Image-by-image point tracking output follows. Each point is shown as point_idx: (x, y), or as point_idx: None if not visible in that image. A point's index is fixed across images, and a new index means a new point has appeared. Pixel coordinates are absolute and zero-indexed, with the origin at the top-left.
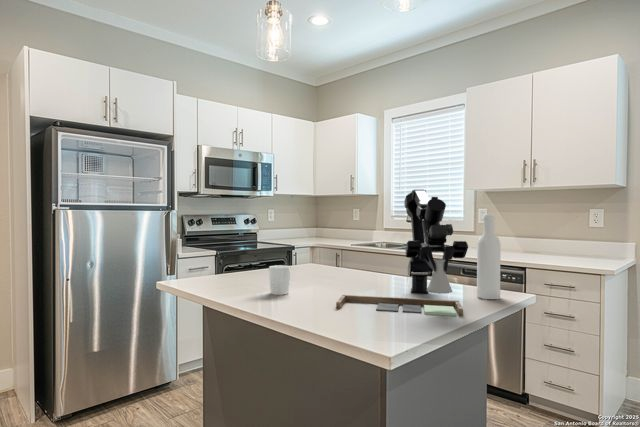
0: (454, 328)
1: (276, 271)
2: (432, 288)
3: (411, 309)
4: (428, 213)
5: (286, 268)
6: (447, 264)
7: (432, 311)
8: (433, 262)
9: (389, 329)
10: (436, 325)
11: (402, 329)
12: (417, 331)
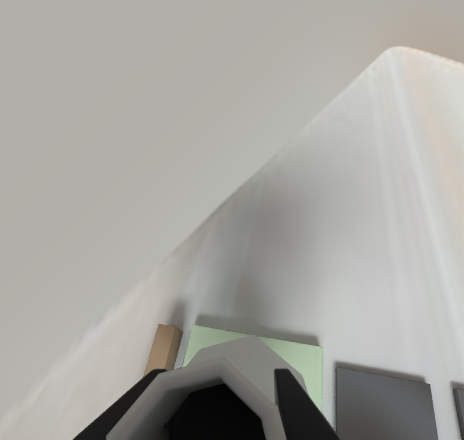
0: (245, 183)
1: None
2: (292, 373)
3: (387, 421)
4: None
5: None
6: (108, 412)
7: (286, 350)
8: (305, 434)
9: (426, 156)
10: (291, 204)
11: (389, 160)
12: (348, 151)
